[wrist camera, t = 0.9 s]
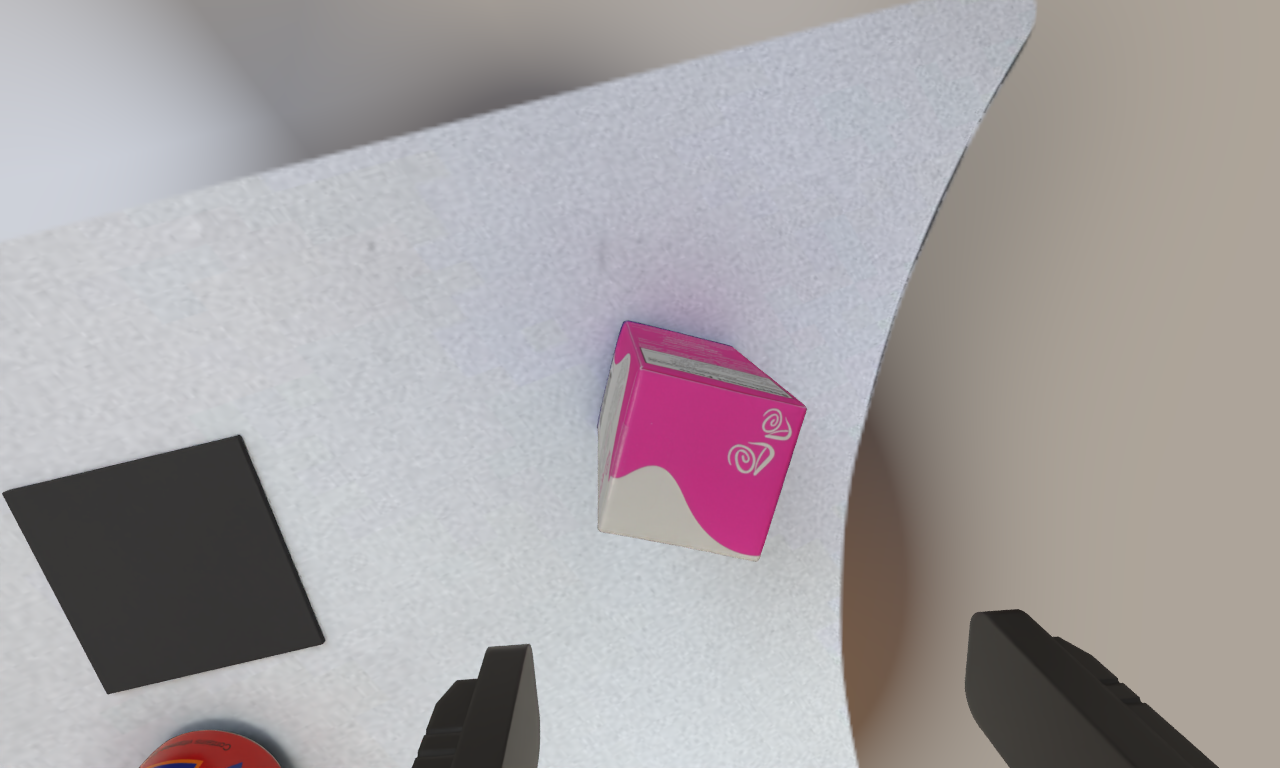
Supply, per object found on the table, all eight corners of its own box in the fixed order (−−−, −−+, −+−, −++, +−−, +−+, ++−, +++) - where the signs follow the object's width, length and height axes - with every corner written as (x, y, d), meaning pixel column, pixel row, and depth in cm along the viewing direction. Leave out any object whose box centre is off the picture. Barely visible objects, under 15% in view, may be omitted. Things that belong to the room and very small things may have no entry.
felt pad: (7, 490, 30) (1, 493, 30) (240, 434, 30) (236, 436, 30) (111, 690, 33) (107, 694, 33) (325, 640, 33) (322, 644, 33)
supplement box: (707, 453, 31) (759, 571, 20) (595, 427, 31) (584, 534, 20) (739, 345, 30) (813, 408, 19) (622, 316, 30) (628, 363, 19)
